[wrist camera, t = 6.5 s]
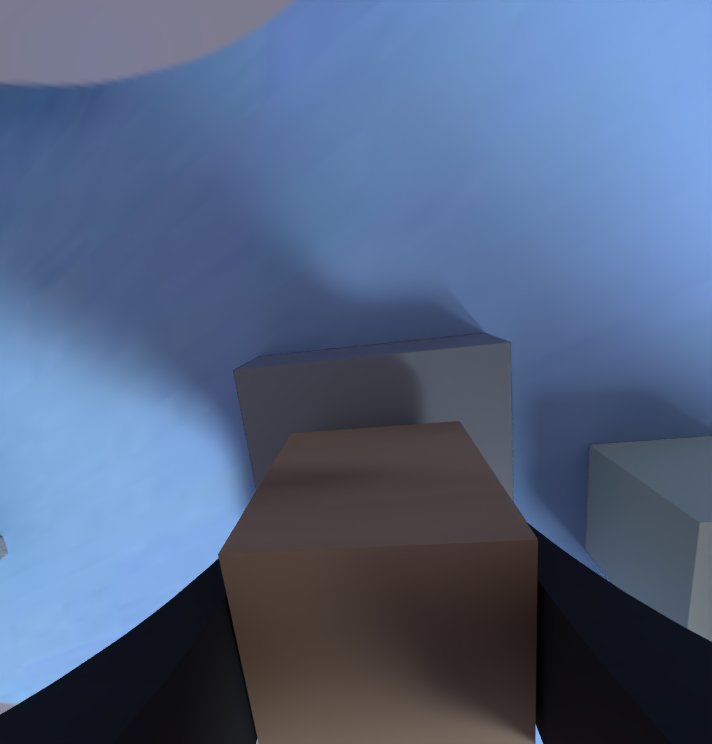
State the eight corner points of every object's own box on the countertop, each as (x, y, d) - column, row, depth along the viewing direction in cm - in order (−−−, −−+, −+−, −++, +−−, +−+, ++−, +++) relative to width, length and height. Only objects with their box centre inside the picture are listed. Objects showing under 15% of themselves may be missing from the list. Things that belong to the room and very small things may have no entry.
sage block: (705, 542, 15) (865, 663, 10) (584, 549, 15) (682, 669, 10) (718, 434, 14) (905, 510, 9) (588, 444, 14) (700, 522, 9)
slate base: (488, 529, 16) (514, 583, 13) (294, 541, 16) (276, 595, 13) (481, 331, 14) (511, 342, 11) (261, 354, 14) (233, 370, 12)
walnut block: (465, 567, 11) (534, 780, 6) (312, 573, 12) (266, 778, 7) (459, 421, 10) (537, 539, 5) (291, 433, 10) (217, 554, 6)
